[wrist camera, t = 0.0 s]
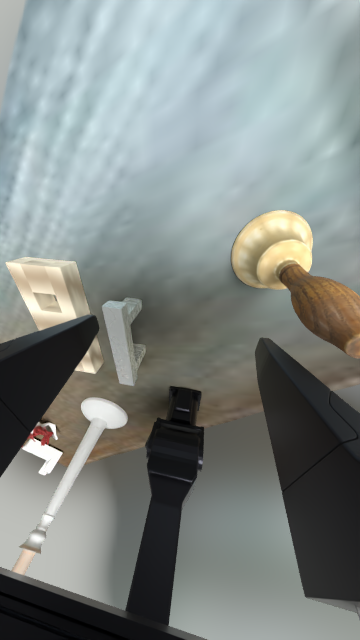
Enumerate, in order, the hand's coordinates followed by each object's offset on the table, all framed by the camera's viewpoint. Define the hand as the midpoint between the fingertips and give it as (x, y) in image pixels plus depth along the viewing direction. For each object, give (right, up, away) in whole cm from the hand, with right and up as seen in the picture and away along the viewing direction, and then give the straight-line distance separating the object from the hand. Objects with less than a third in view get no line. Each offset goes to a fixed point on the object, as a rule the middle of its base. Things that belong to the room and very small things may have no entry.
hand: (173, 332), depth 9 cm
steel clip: (-7, -1, +19) cm, 21 cm away
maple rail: (-19, +1, +21) cm, 28 cm away
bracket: (-54, -50, +62) cm, 96 cm away
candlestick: (-20, -24, +38) cm, 49 cm away
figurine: (-44, -33, +49) cm, 74 cm away
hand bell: (+11, +8, +10) cm, 17 cm away
